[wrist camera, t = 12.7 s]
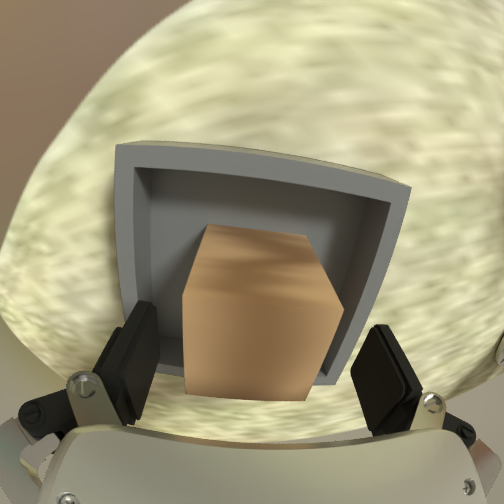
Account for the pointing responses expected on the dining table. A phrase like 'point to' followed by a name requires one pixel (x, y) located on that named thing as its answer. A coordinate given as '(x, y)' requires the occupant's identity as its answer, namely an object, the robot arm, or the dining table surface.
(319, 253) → the tray
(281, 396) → the wooden block
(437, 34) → the dining table surface
